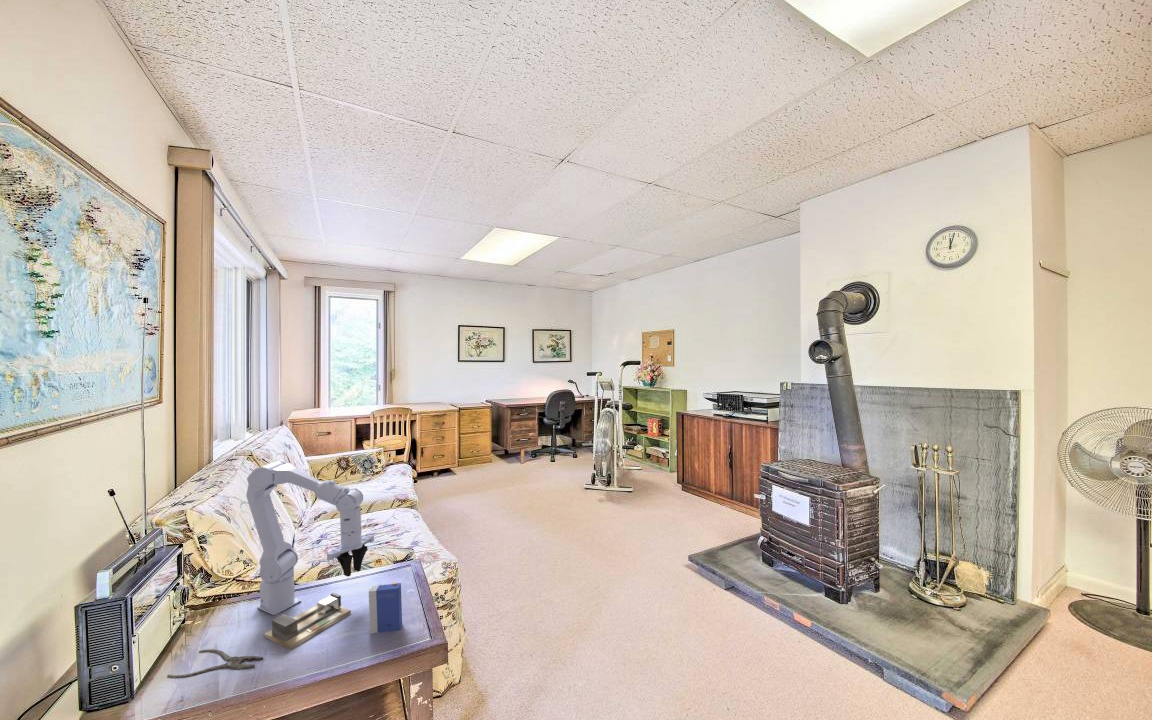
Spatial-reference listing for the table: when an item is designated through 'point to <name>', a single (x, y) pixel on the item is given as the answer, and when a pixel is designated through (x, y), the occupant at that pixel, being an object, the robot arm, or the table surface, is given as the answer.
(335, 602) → the block with upright rod
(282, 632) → the bench
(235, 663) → the pliers
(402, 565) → the table surface
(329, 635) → the table surface
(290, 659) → the table surface
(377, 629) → the walkman
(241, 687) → the table surface
